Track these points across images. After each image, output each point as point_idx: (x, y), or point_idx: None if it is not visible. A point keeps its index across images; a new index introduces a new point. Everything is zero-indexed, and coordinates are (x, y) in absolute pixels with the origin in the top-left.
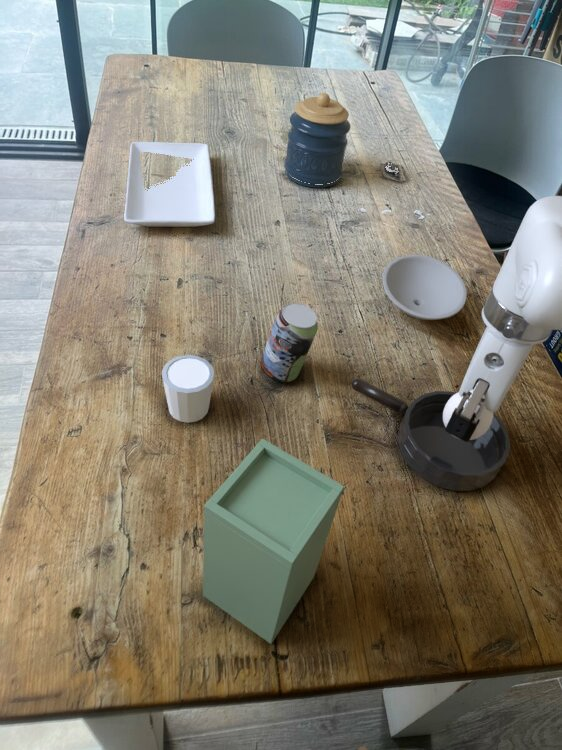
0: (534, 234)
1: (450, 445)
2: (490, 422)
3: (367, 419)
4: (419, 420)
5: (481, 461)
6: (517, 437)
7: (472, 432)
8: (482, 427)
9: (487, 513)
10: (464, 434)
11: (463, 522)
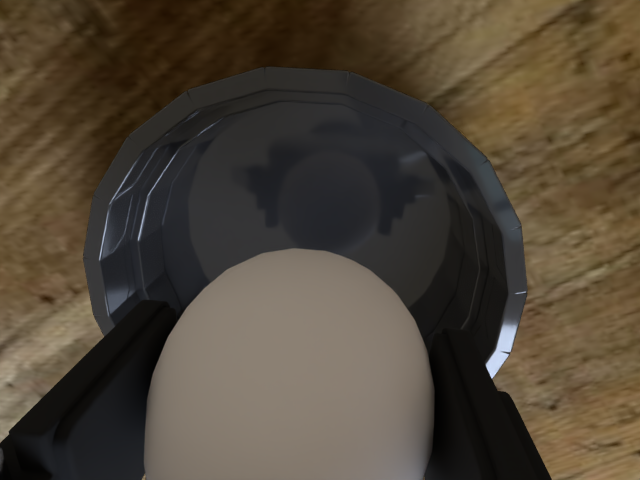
0: None
1: None
2: (320, 304)
3: None
4: None
5: (302, 142)
6: (93, 43)
7: (494, 391)
8: (389, 333)
9: (516, 52)
10: (516, 413)
11: (592, 124)
